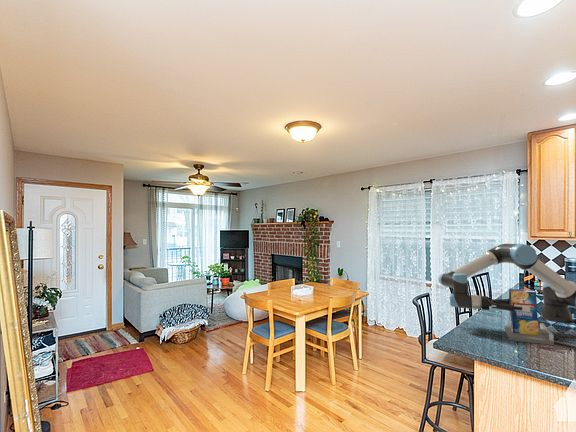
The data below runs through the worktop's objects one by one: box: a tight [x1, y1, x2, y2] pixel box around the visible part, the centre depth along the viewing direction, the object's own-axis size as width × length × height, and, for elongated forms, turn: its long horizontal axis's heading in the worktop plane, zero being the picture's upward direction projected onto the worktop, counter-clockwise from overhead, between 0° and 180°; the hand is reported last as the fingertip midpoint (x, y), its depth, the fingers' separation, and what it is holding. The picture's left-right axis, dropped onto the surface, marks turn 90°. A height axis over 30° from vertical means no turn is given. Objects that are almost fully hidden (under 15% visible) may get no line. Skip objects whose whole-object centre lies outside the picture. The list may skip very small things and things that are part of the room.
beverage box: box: [508, 288, 539, 335], centre depth 168 cm, size 7×11×22 cm, turn 62°
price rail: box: [539, 322, 555, 341], centre depth 164 cm, size 22×2×3 cm, turn 151°
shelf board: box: [503, 324, 555, 346], centre depth 167 cm, size 22×18×2 cm
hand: (527, 306), depth 168 cm, fingers open, 13 cm apart
